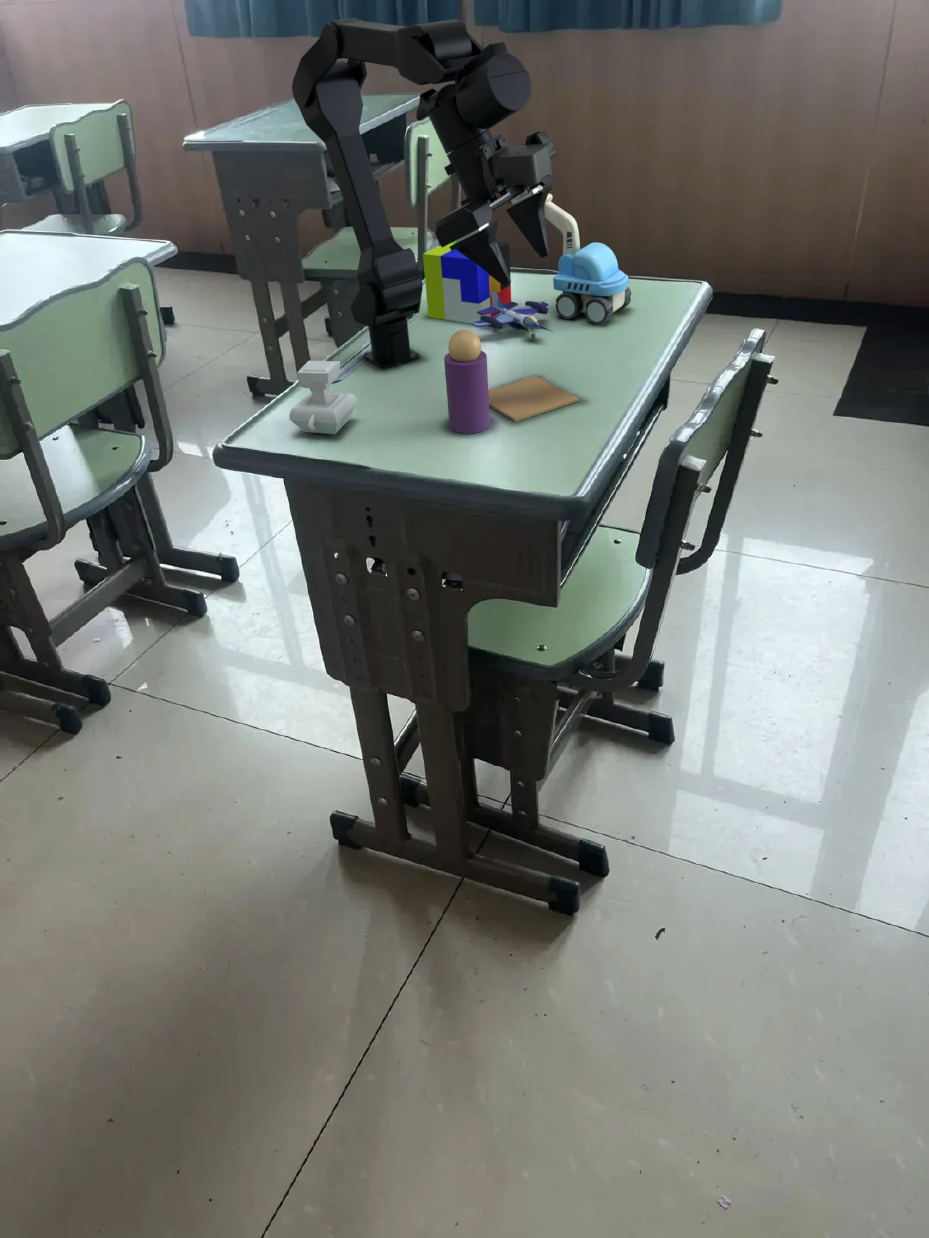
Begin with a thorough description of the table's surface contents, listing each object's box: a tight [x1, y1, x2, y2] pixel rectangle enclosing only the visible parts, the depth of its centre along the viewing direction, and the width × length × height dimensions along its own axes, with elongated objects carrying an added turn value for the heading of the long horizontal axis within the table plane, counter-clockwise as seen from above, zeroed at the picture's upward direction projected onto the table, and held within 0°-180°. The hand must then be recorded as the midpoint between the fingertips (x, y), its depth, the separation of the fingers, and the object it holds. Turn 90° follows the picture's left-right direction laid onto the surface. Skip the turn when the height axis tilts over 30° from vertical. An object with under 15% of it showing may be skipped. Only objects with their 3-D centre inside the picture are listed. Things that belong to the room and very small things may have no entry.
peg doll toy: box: [443, 329, 491, 435], centre depth 113 cm, size 5×5×12 cm
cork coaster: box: [488, 375, 579, 423], centre depth 122 cm, size 10×10×1 cm
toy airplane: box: [470, 291, 553, 342], centre depth 141 cm, size 13×14×4 cm
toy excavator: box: [544, 193, 632, 326], centre depth 143 cm, size 9×17×17 cm, turn 54°
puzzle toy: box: [422, 240, 512, 324], centre depth 148 cm, size 10×10×10 cm
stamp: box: [289, 360, 359, 435], centre depth 116 cm, size 9×7×8 cm
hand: (527, 270), depth 112 cm, fingers open, 9 cm apart
